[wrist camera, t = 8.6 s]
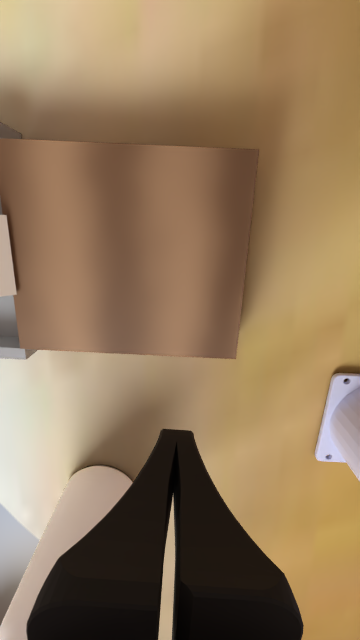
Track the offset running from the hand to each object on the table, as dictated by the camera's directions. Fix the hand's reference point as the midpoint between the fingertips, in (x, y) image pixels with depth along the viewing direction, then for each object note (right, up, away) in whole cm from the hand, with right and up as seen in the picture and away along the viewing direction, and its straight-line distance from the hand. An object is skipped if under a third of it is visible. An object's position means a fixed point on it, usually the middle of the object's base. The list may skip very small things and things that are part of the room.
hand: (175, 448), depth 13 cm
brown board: (-3, +10, +7) cm, 13 cm away
